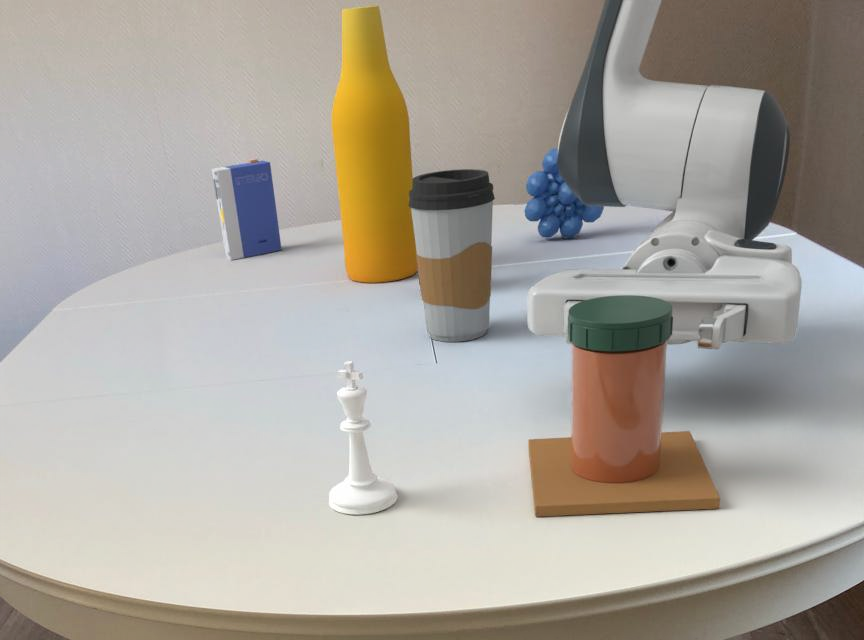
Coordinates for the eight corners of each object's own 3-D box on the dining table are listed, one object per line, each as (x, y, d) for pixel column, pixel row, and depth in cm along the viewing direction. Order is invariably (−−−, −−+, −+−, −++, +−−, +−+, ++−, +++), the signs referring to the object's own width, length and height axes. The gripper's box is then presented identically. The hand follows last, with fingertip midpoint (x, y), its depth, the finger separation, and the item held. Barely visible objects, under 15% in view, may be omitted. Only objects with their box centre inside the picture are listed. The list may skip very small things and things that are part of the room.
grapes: (608, 228, 145) (610, 132, 138) (615, 238, 139) (618, 138, 133) (522, 235, 146) (521, 139, 139) (526, 245, 140) (524, 146, 134)
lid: (662, 318, 72) (664, 292, 71) (678, 347, 67) (680, 319, 66) (564, 325, 73) (564, 298, 72) (572, 354, 68) (572, 326, 67)
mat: (689, 440, 79) (690, 430, 79) (719, 508, 69) (720, 497, 69) (528, 448, 81) (528, 439, 80) (535, 517, 71) (535, 506, 70)
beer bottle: (335, 284, 131) (306, 13, 116) (360, 265, 138) (336, 9, 123) (406, 283, 128) (386, 5, 113) (428, 264, 135) (412, 1, 120)
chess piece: (376, 519, 73) (362, 377, 67) (316, 509, 75) (297, 371, 69) (409, 490, 76) (398, 353, 71) (351, 482, 78) (336, 348, 73)
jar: (653, 446, 77) (661, 300, 72) (666, 481, 72) (675, 326, 66) (567, 451, 78) (568, 306, 72) (574, 485, 73) (575, 332, 67)
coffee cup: (463, 317, 113) (456, 166, 105) (515, 330, 107) (512, 171, 99) (401, 335, 109) (389, 180, 102) (452, 350, 104) (443, 187, 96)
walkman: (274, 247, 153) (262, 157, 147) (281, 250, 151) (269, 159, 145) (223, 257, 150) (209, 166, 144) (230, 260, 148) (215, 168, 142)
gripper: (551, 244, 88) (500, 287, 78) (813, 245, 80) (795, 293, 70) (551, 320, 91) (502, 372, 81) (803, 328, 84) (784, 385, 73)
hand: (640, 335), depth 75 cm, fingers open, 8 cm apart
